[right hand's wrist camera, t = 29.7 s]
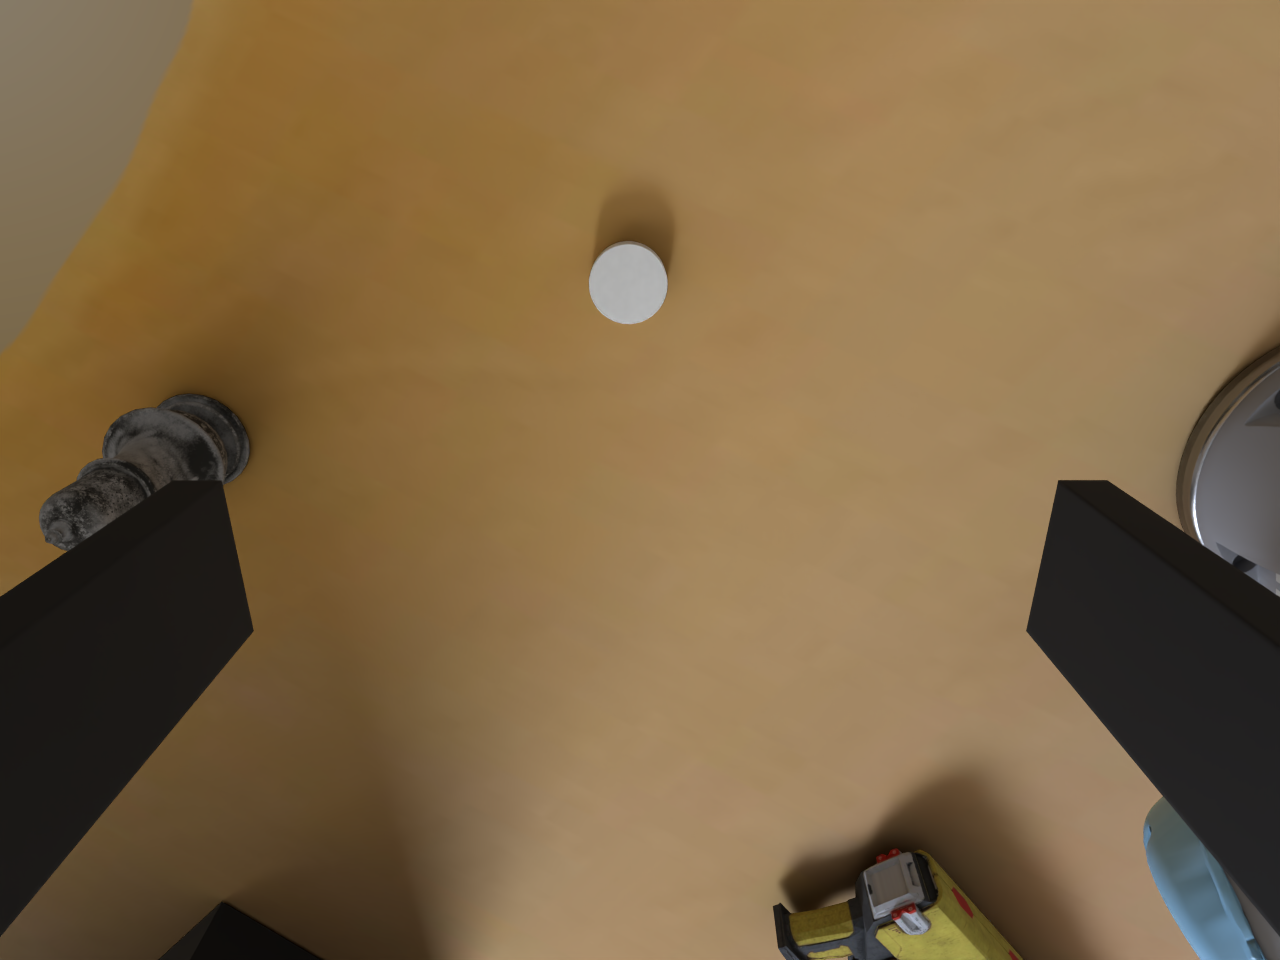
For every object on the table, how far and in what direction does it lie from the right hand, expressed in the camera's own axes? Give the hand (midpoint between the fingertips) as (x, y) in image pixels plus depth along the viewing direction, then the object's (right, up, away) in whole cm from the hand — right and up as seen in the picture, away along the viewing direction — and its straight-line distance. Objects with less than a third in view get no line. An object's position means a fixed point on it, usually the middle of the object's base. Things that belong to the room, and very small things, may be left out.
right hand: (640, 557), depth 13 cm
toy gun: (+20, -35, +46) cm, 61 cm away
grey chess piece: (-24, +3, +30) cm, 38 cm away
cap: (-1, +11, +26) cm, 28 cm away
